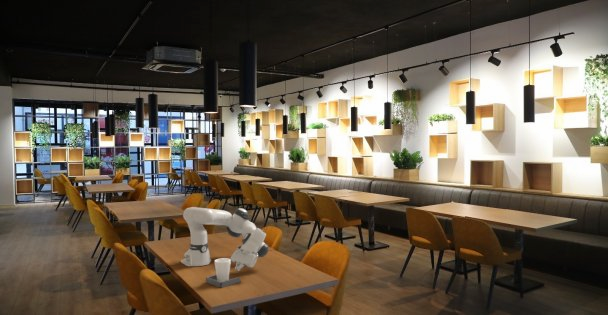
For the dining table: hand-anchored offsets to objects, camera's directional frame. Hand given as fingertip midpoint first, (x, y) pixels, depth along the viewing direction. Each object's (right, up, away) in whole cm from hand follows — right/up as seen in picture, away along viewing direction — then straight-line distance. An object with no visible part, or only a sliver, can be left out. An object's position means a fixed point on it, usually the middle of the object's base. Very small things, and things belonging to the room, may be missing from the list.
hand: (236, 270), depth 254 cm
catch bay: (-6, -5, -6) cm, 11 cm away
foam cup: (-7, -6, -6) cm, 11 cm away
